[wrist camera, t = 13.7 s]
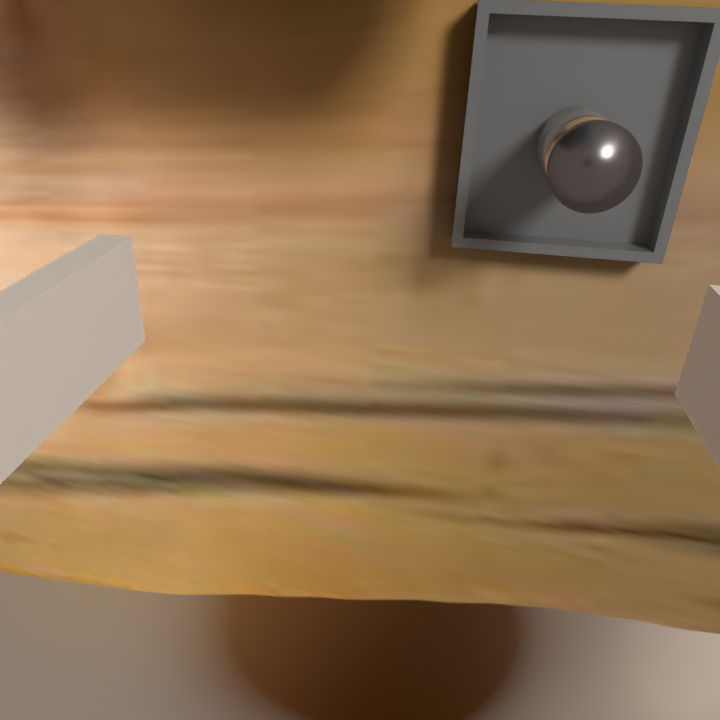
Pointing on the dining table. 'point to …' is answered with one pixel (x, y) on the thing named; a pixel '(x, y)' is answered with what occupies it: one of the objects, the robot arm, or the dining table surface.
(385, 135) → the dining table surface
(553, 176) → the shaker
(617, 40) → the tray
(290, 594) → the dining table surface
